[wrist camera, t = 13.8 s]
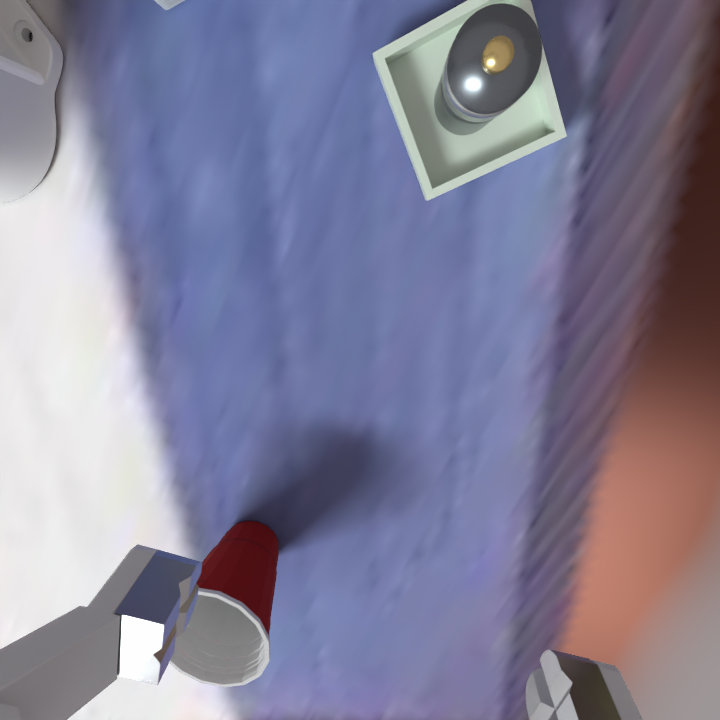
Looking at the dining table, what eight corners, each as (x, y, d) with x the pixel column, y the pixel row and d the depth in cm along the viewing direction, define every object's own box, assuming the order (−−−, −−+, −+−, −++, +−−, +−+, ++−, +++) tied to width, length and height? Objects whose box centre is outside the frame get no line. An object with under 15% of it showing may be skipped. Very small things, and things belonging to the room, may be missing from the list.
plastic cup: (234, 481, 45) (180, 576, 34) (319, 535, 47) (294, 643, 35) (186, 543, 49) (123, 648, 37) (266, 591, 50) (229, 705, 39)
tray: (374, 63, 31) (372, 53, 28) (512, -13, 29) (522, -31, 26) (425, 200, 34) (427, 200, 31) (554, 140, 32) (566, 136, 29)
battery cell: (423, 82, 30) (436, 26, 20) (486, 49, 29) (532, -27, 19) (446, 147, 32) (469, 124, 22) (506, 117, 31) (560, 80, 21)
